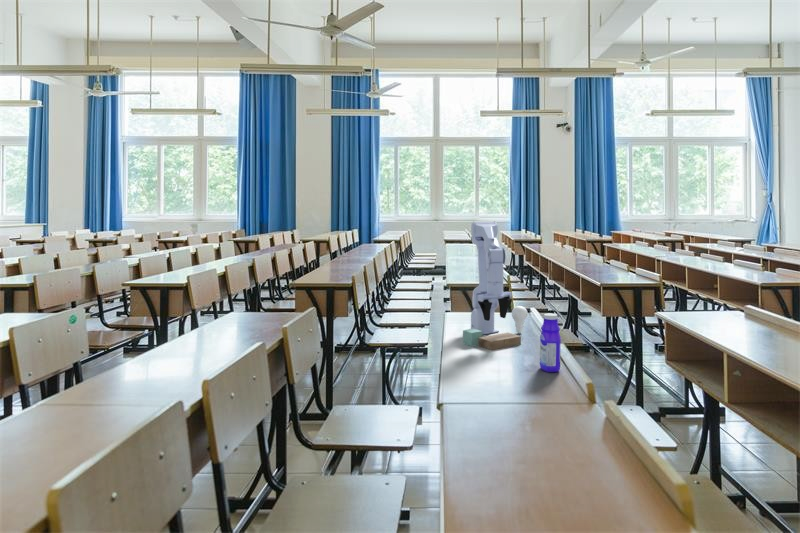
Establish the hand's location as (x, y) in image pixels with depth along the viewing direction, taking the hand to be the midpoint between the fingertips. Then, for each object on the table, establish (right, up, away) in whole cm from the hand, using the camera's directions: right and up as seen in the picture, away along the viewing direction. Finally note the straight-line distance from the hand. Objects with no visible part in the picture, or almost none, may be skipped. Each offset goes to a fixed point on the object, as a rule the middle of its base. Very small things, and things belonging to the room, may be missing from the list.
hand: (494, 318), depth 200 cm
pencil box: (+2, -10, +1) cm, 10 cm away
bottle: (+12, -13, -29) cm, 34 cm away
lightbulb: (+13, -8, +18) cm, 23 cm away
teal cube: (-8, -10, +3) cm, 13 cm away
